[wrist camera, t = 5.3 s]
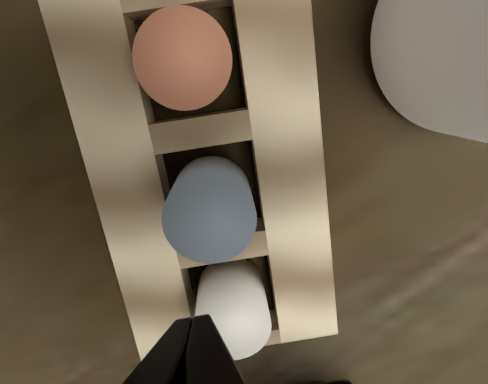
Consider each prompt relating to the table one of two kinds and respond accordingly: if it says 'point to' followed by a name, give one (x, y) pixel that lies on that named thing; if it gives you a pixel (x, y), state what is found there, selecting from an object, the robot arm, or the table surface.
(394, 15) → the cup
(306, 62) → the board
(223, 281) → the button cream
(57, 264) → the table surface
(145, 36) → the button terracotta
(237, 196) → the button slate
